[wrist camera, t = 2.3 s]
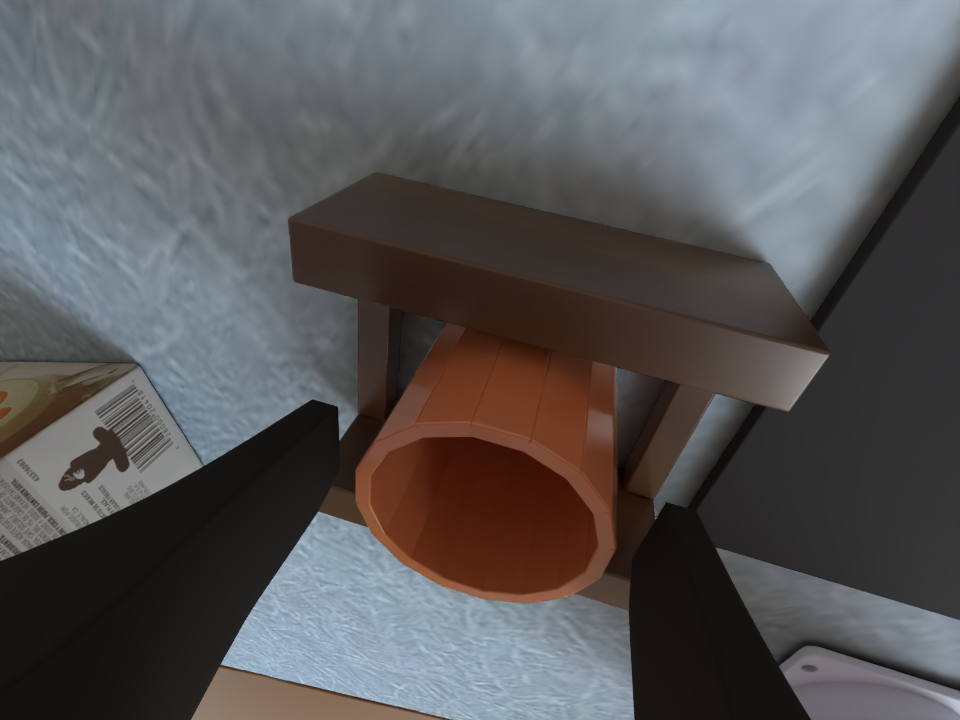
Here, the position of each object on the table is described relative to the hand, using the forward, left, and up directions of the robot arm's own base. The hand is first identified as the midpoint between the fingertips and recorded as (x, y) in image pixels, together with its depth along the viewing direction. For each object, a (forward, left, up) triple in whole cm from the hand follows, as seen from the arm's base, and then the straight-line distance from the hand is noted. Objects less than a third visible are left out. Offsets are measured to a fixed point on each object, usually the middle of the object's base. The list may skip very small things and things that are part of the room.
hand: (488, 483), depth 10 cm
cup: (0, 0, -5) cm, 5 cm away
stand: (0, 0, -5) cm, 5 cm away
